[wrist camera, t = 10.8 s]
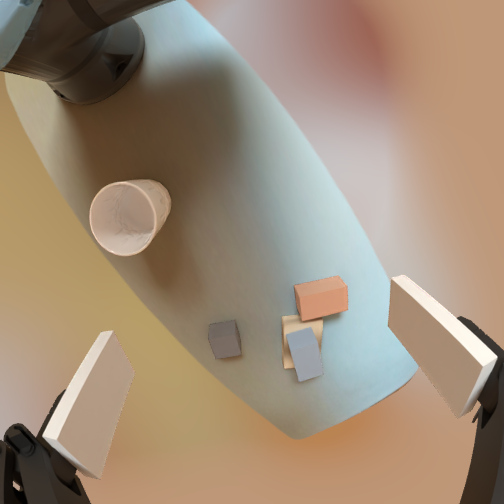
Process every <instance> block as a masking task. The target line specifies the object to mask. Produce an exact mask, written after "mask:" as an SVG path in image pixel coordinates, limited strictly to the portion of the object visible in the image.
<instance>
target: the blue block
mask: <svg viewBox="0 0 504 504" xmlns="http://www.w3.org/2000/svg"><path fill="white" fill-rule="evenodd" d="M286 337H287V341H288V344H289V348H290V352H291V355H292V359H293V362H294V366H295V369H296V373H297V376H298V380H299V382H301V381H304V380H308V379H311V378H314V377H317V376H320V375H324V373H323V367H322V362H321V357H320V351H319V346H318V342H317V339H316V337H315V335H314V332H313V330H312V328H311V327H309V328H305V329H302V330H299V331H295V332H292V333H289V334H286Z"/></svg>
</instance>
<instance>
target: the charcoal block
mask: <svg viewBox="0 0 504 504" xmlns="http://www.w3.org/2000/svg"><path fill="white" fill-rule="evenodd" d="M208 340H209V343H210V345H211V348H212V351H213V354H214V357H215V359H220V358H226V357H233V356H238V355H241V340H240V336H239V333H238V329H237V325H236V322H235V320H231V321H226V322H220V323H215V324H210V328H209V337H208Z"/></svg>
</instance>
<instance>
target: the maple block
mask: <svg viewBox="0 0 504 504" xmlns="http://www.w3.org/2000/svg"><path fill="white" fill-rule="evenodd" d="M309 327H311V328H312V330H313V332H314V335H315V337H316V339H317V342H318V346H319V351H320V352H321V341H322V329H323V319H322V317H318V318H314V319H310V320H305V321H302V319H301V316H300V314H298V315H289V316H282V361H283V365H284V369H287V368H294V367H295V366H294V362H293V359H292V355H291V352H290V348H289V344H288V341H287V337H286V334H289V333H292V332H295V331H299V330H302V329H305V328H309Z"/></svg>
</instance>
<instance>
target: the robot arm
mask: <svg viewBox="0 0 504 504" xmlns="http://www.w3.org/2000/svg"><path fill="white" fill-rule="evenodd" d="M172 1H175V0H0V71H3V72H8V73H13V74H17V75H22V76H26V77H30V78H34V79H38V80H42V81H45V82H46V83H47V84H48V85H49V86H50V88H51V89H52V90H53V91H54V92H55V93H56V94H57V96H59V97H60V98H61V99H63V100H65V101H68V102H71V103H75V104H82V105H85V104H92V103H96V102H99V101H101V100H103V99H105V98H107V97H109V96H111V95H112V94H114V93H115V92H116V91H118V90H119V89H120V88H121V87H122V86H123V85H124V84H125V83H126V82H127V81H128V80H129V79H130V77H131V76H132V75H133V73H134V72H135V70H136V68H137V67H138V65H139V63H140V60H141V57H142V54H143V50H144V36H143V33H142V30H141V28H140V27H139V25H138V24H137V23H136V21H135V20H134V19H133V18H132V16H134V15H137V14H139V13H141V12H144V11H147V10H149V9H152V8H155V7H157V6H160V5H163V4H166V3H169V2H172ZM388 327H389V328H390V330H391V331H392V332H393V333H394V335H395V336H396V337H397V338H398V340H399V341H400V342H401V343H402V345H403V346H404V347H405V348H406V350H407V351H408V352H409V354H410V355H411V356H412V357H413V359H414V360H415V361H416V363H417V364H418V365H419V367H420V368H421V369H422V370H423V372H424V373H425V374H426V376H427V377H428V378H429V380H430V381H431V383H432V384H433V385H434V387H435V388H436V389H437V391H438V392H439V393H440V395H441V396H442V398H443V399H444V400H445V402H446V403H447V405H448V406H449V407H450V409H451V410H452V412H453V413H454V415H455V416H456V417H457V419H458V418H460V417H462V416H463V415H465V414H466V413H468V412H470V411H471V410H472V409H473V407H474V406H475V404H476V402H477V400H478V401H479V402H480V404H481V406H480V408H479V410H478V411H477V413H476V415H475V416H474V418H473V421H472V423H474V422H475V421H476V419H477V418H478V424H477V431H476V437H475V444H474V449H473V454H472V459H471V464H470V468H469V472H468V476H467V480H466V484H465V487H464V491H463V494H462V498H461V501H460V504H504V350H503V349H501V348H500V346H498V345H497V344H496V343H495V342H494V341H493V340H492V339H491V338H490V337H489V336H487V335H485V333H484V332H483V331H482V330H481V329H479V328H478V327H477V326H476V325H475V324H474V323H473V322H472V321H471V320H468V319H466V318H464V317H462V316H460V317H458V318H456V317H455V316H453V315H452V314H451V313H450V312H449V311H448V310H446V309H445V308H444V307H443V306H442V305H441V304H439V303H438V302H437V301H436V300H435V299H434V298H432V297H431V296H430V295H429V294H428V293H426V292H425V291H424V290H423V289H421V288H420V287H419V286H418V285H417V284H415V283H414V282H413V281H412V280H410V279H409V278H408V277H407V276H405V275H400V276H397V277H393V278H391V287H390V305H389V318H388ZM134 375H135V371H134V369H133V368H132V366H131V364H130V362H129V361H128V358H127V356H126V354H125V352H124V350H123V349H122V347H121V345H120V343H119V341H118V338H117V336H116V334H115V332H114V331H104V332H101V333H100V334H99V336H98V338H97V339H96V341H95V342H94V344H93V345H92V347H91V349H90V350H89V352H88V354H87V355H86V357H85V359H84V361H83V362H82V363H81V365H80V367H79V368H78V370H77V372H76V374H75V375H74V377H73V379H72V381H71V383H70V384H69V386H68V388H67V389H65V390H64V391H63V392H62V393H61V394H60V395H59V396H58V397H57V399H56V400H55V402H54V404H53V407H52V408H51V409H50V412H49V414H48V415H47V417H46V419H45V421H44V423H43V425H42V427H41V429H40V431H39V433H38V435H37V437H35V436H34V435H33V434H32V433H31V432H30V431H29V430H28V429H27V428H26V427H25V426H24V425H23V424H19V423H17V424H13V425H12V426H11V427H9V429H8V430H7V431H6V432H5V435H4V442H3V441H2V440H0V504H91V503H90V501H89V499H88V497H87V495H86V492H85V490H84V488H83V486H82V484H81V481H80V479H79V478H78V476H77V475H75V473H76V470H79V471H80V472H81V473H82V474H83V475H85V476H87V477H91V478H95V479H101V476H102V472H103V468H104V465H105V462H106V458H107V455H108V452H109V448H110V445H111V442H112V439H113V436H114V433H115V429H116V427H117V424H118V420H119V417H120V415H121V412H122V409H123V406H124V403H125V400H126V397H127V395H128V392H129V389H130V386H131V384H132V381H133V378H134ZM13 481H14V482H15V483H16V484H18V485H19V486H20V490H19V491H18V490H17V489H16V488H14V487H13Z"/></svg>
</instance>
